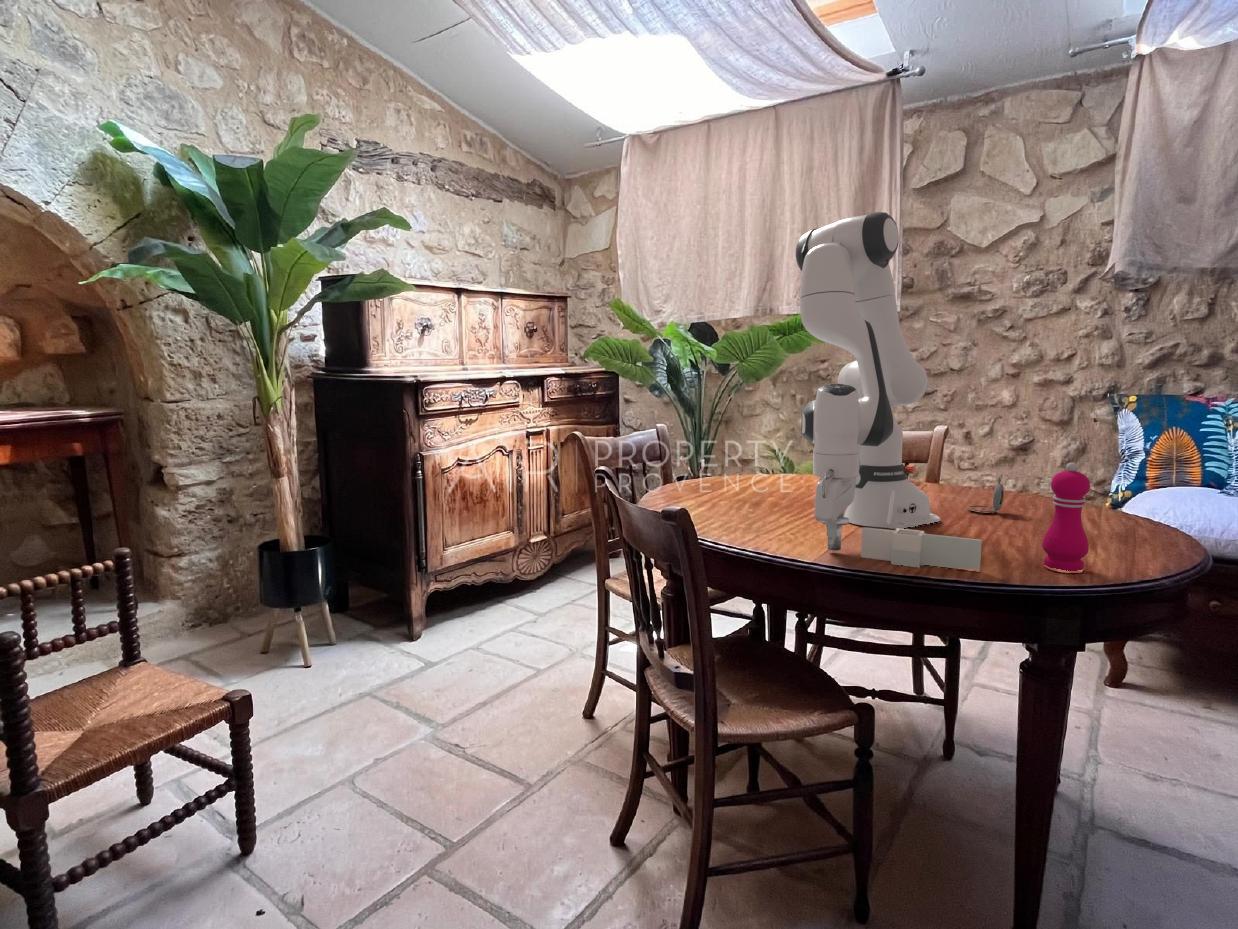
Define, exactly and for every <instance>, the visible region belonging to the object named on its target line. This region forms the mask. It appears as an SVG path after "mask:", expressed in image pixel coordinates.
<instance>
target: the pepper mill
mask: <svg viewBox="0 0 1238 929" xmlns="http://www.w3.org/2000/svg"><path fill="white" fill-rule="evenodd" d="M1078 468H1079V467H1078V464H1077V463H1076V462H1068V463H1067V464H1066V466H1065V470H1063V471H1060V472H1057V473H1056V474H1055V475H1054V476H1053V477H1052V479H1051V482H1050V488H1051V491H1052V492H1053V493H1054V495H1053V497H1052V498H1053V501H1052V504H1053V505H1054V514H1053V518H1052V521H1051V524H1050V525H1049V527H1048V529H1047V530H1046V532H1045V534H1044V536H1043V539H1042V544H1041V547H1042V549H1043V551H1044V552H1045V553H1046V554H1047V556H1045V557H1043V566H1044V565H1046V566H1048V567H1050V568H1056V569H1061V570H1066V571H1067V570H1068V571H1077V570H1082V569H1083V568H1084V567H1085V562H1084V561H1083V560H1082V559H1083V558H1084V557H1085V556H1086V555H1087V554H1088V553H1089V550H1090V548H1089V547H1090V546H1089V541H1088V537H1087V535H1086V534H1087V533H1086V532H1085V530H1084V529H1085V528H1084V526H1083V522H1082V511H1083V508H1084V507H1085V506H1086V504H1085V502H1086V499H1085V498H1084V497H1086V495H1087V494H1088V493H1089V492H1090V490H1091V482H1090V479H1089V477H1088V476H1087V475H1086V474H1084V473H1082V472H1080V471H1077V470H1078Z"/></svg>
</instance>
